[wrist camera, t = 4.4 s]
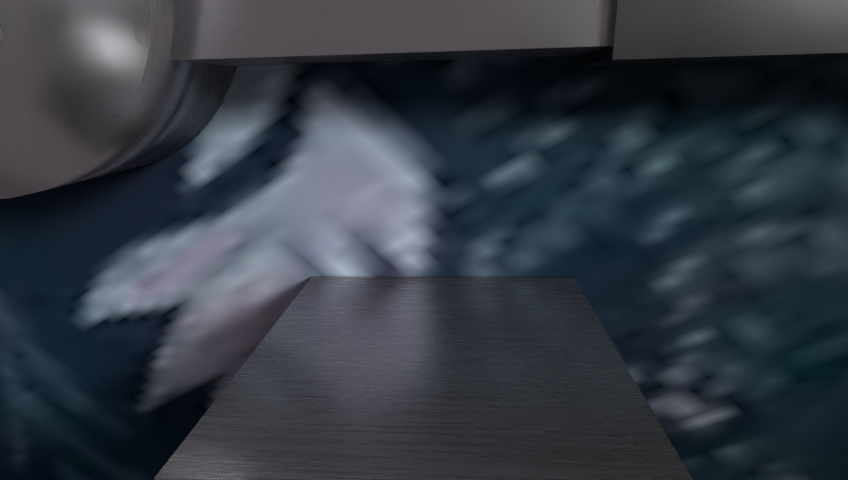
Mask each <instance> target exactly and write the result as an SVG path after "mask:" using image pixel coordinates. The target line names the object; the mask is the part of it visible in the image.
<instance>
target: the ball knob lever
mask: <svg viewBox="0 0 848 480" xmlns="http://www.w3.org/2000/svg"><path fill="white" fill-rule="evenodd" d="M549 56H573V66H572V67H578V66H612V65H646V64H680V63H714V62H748V61H782V60H817V59H848V0H0V199H6V198H14V197H18V196H23V195H27V194H31V193H36V192H40V191H44V190H48V189H52V188H56V187H60V186H64V185H68V184H72V183H76V182H80V181H84V180H88V179H92V178H96V177H100V176H103V175H107V174H111V173H115V172H119V171H123V170H127V169H131V168H135V167H139V166H143V165H147V164H151V163H153V162H156V161H158V160H161V159H163V158H166V157H168V156H170V155H171V154H173V153H175V152H176V151H178V150H180V149H181V148H183V147H184V146H186V145H187V144H188V143H189V142H190V141H192V140H193V139H194V138H195V137H197V136H198V135H199V134H200V133H201V131H202V130H203V129H204V128H205V127H206V126H207V125H208V123H209V122H210V121H211V120H212V118H213V117H214V115H215V114H216V112H217V111H218V109H219V108H220V106H221V105H222V103H223V101H224V99H225V96H226V94H227V92H228V90H229V88H230V86H231V83H232V80H233V76H234V73H235V70H236V67H237V66H259V65H291V64H324V63H356V62H388V61H420V60H453V59H485V58H517V57H549Z"/></svg>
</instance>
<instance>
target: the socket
mask: <svg viewBox="0 0 848 480" xmlns="http://www.w3.org/2000/svg"><path fill="white" fill-rule="evenodd" d="M155 480H693V479H692V477H691V475H690V474H689V472H688V470H687V469H686V467H685V465H684V464H683V462H682V460H681V458H680V457H679V455H678V453H677V452H676V450H675V448H674V447H673V445H672V443H671V441H670V440H669V438H668V436H667V435H666V433H665V431H664V430H663V428H662V426H661V425H660V423H659V421H658V419H657V418H656V416H655V414H654V413H653V411H652V409H651V408H650V406H649V404H648V402H647V401H646V399H645V397H644V396H643V394H642V392H641V391H640V389H639V387H638V386H637V384H636V382H635V380H634V379H633V377H632V375H631V374H630V372H629V370H628V369H627V367H626V365H625V363H624V362H623V360H622V358H621V357H620V355H619V353H618V352H617V350H616V348H615V346H614V345H613V343H612V341H611V340H610V338H609V336H608V335H607V333H606V331H605V330H604V328H603V326H602V324H601V323H600V321H599V319H598V318H597V316H596V314H595V313H594V311H593V309H592V307H591V306H590V304H589V302H588V301H587V299H586V297H585V296H584V294H583V292H582V291H581V289H580V287H579V285H578V284H577V282H576V280H575V279H574V278H451V277H311V278H310V280H309V281H308V282H307V283H306V285H305V286H304V287H303V289H302V290H301V291H300V292H299V294H298V295H297V296H296V298H295V299H294V300H293V301H292V303H291V304H290V305H289V306H288V308H287V309H286V310H285V312H284V313H283V314H282V315H281V317H280V318H279V319H278V321H277V322H276V323H275V324H274V326H273V327H272V328H271V329H270V331H269V332H268V333H267V335H266V336H265V337H264V338H263V340H262V341H261V342H260V344H259V345H258V346H257V347H256V349H255V350H254V351H253V353H252V354H251V355H250V356H249V358H248V359H247V360H246V361H245V363H244V364H243V365H242V367H241V368H240V369H239V370H238V372H237V373H236V374H235V376H234V377H233V378H232V379H231V381H230V382H229V383H228V385H227V386H226V387H225V388H224V390H223V391H222V392H221V393H220V395H219V396H218V397H217V399H216V400H215V401H214V402H213V404H212V405H211V406H210V408H209V409H208V410H207V411H206V413H205V414H204V415H203V417H202V418H201V419H200V420H199V422H198V423H197V424H196V425H195V427H194V428H193V429H192V431H191V432H190V433H189V434H188V436H187V437H186V438H185V440H184V441H183V442H182V443H181V445H180V446H179V447H178V449H177V450H176V451H175V452H174V454H173V455H172V456H171V457H170V459H169V460H168V461H167V463H166V464H165V465H164V466H163V468H162V469H161V470H160V472H159V473H158V474H157V475H156V477H155Z"/></svg>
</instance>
